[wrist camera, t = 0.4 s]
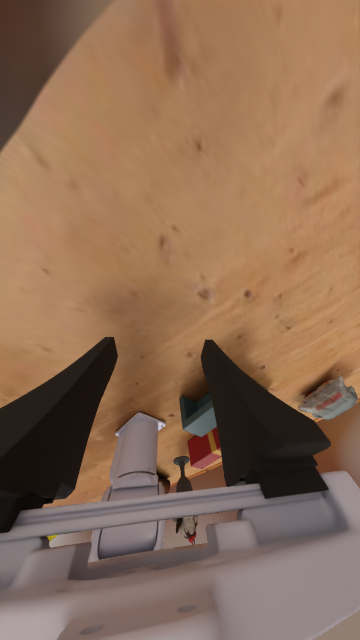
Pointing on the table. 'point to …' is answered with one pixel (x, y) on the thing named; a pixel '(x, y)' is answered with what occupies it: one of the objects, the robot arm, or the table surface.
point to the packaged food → (329, 399)
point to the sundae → (184, 485)
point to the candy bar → (204, 449)
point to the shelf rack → (198, 415)
